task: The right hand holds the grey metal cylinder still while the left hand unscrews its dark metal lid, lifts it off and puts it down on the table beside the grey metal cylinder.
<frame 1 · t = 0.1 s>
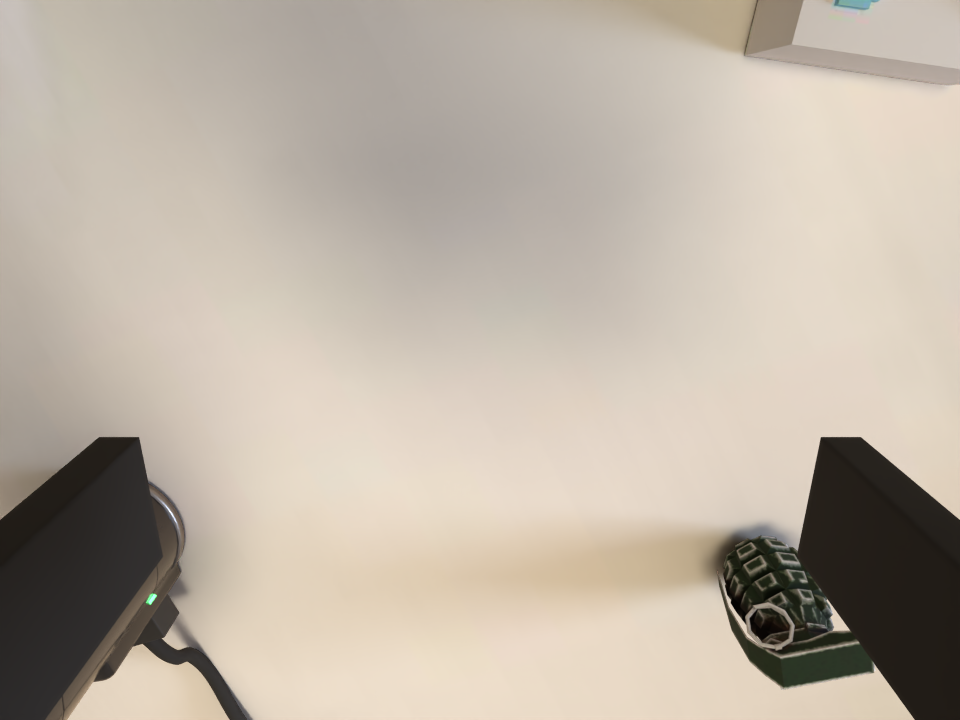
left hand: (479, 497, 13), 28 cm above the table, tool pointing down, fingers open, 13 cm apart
grenade: (748, 555, 47), on the table
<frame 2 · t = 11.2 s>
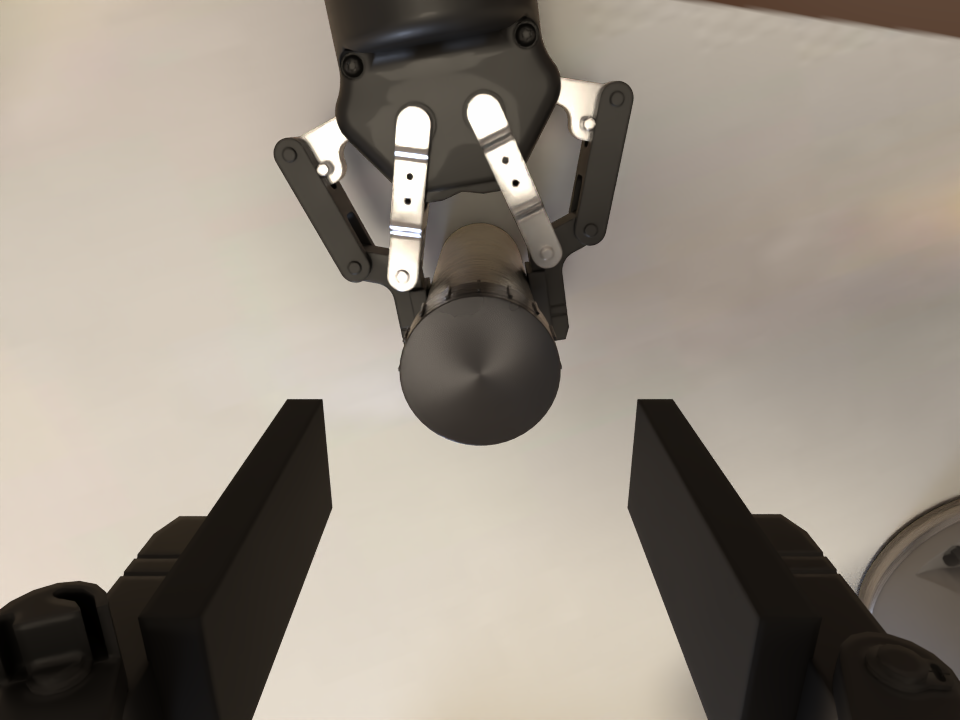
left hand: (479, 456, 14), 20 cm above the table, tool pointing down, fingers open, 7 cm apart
right hand: (490, 356, 28), fingers closed on grey metal cylinder, 4 cm apart
grey metal cylinder: (480, 264, 33), on the table, touching right hand
lid: (480, 369, 19), point 15 cm above the table, screwed on, not yet turned
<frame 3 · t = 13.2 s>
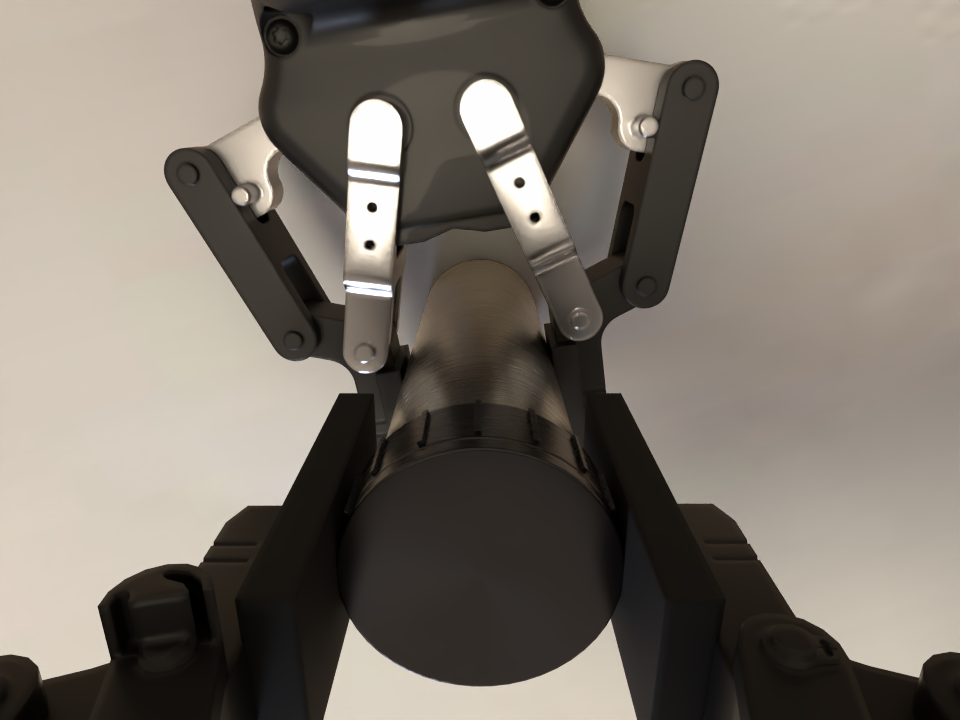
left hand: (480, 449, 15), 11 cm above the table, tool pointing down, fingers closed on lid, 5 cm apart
right hand: (495, 456, 20), fingers closed on grey metal cylinder, 4 cm apart
grey metal cylinder: (480, 313, 25), on the table, touching right hand
lid: (480, 563, 11), point 15 cm above the table, screwed on, not yet turned, touching left hand
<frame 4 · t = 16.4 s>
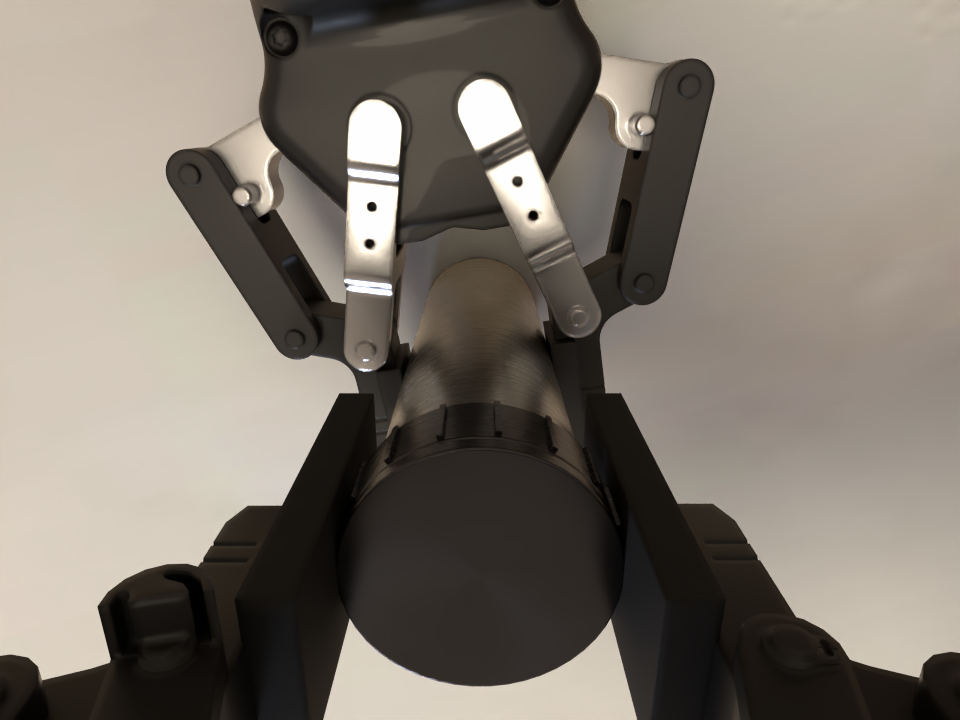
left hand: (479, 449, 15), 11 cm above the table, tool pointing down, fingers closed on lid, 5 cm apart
right hand: (495, 453, 20), fingers closed on grey metal cylinder, 4 cm apart
grey metal cylinder: (480, 311, 25), on the table, touching right hand
lid: (480, 563, 11), point 15 cm above the table, turned 104° so far, risen 0.2 cm, still on its thread, touching left hand
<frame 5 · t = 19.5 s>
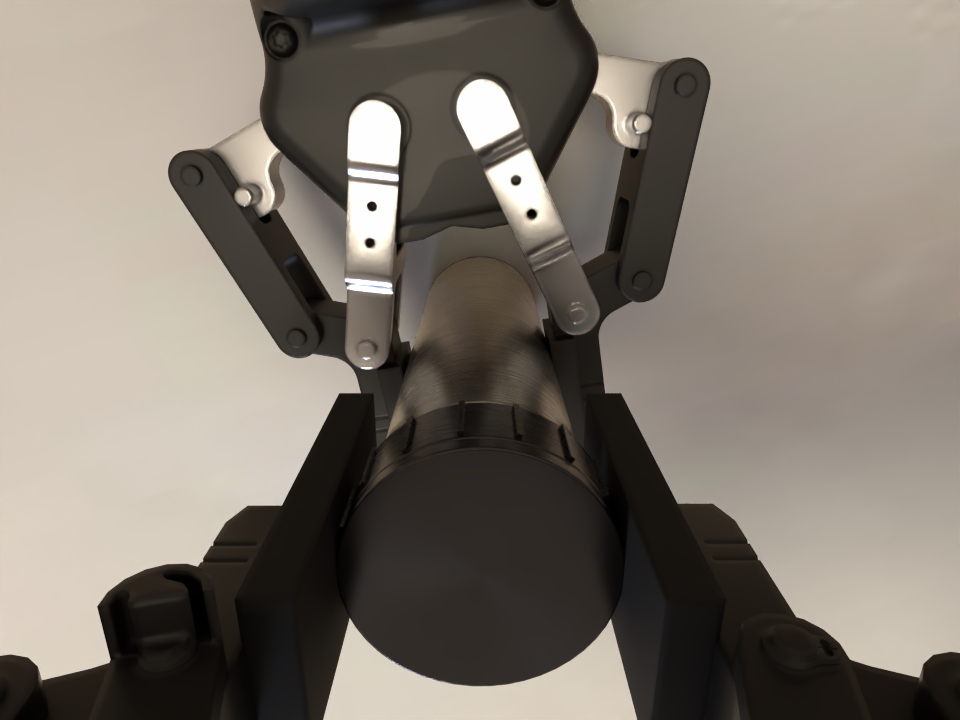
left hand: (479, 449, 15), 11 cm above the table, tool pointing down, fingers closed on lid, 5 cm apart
right hand: (496, 450, 20), fingers closed on grey metal cylinder, 4 cm apart
grey metal cylinder: (480, 310, 25), on the table, touching right hand
lid: (480, 563, 11), point 15 cm above the table, turned 209° so far, risen 0.4 cm, still on its thread, touching left hand
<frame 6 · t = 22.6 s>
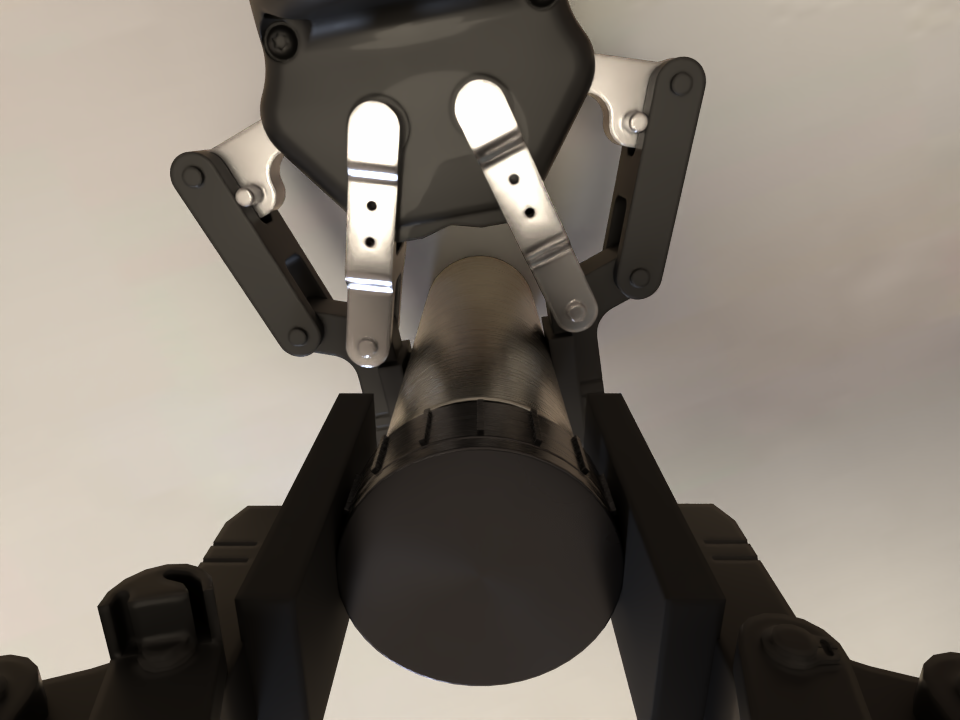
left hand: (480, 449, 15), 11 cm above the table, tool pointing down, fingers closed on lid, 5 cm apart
right hand: (496, 447, 20), fingers closed on grey metal cylinder, 4 cm apart
grey metal cylinder: (480, 308, 25), on the table, touching right hand
lid: (480, 562, 11), point 16 cm above the table, turned 313° so far, risen 0.5 cm, still on its thread, touching left hand
when the left hand's fingers open (0 cm above the table, at t = 29.9 s): lid drops 3 cm, point 1 cm above the table.
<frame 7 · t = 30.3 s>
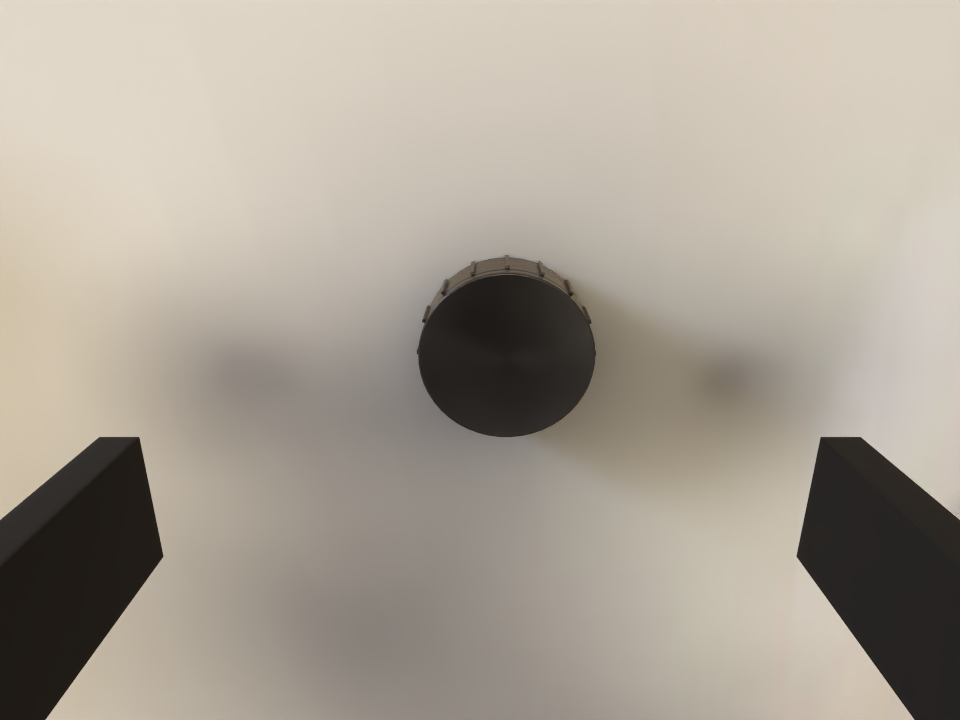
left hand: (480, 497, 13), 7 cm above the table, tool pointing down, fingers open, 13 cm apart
lid: (506, 354, 18), point 1 cm above the table, off its thread
when the right hand's fingers open (6 cm above the table, at t = 30.5 s): grey metal cylinder stays where it is, on the table.
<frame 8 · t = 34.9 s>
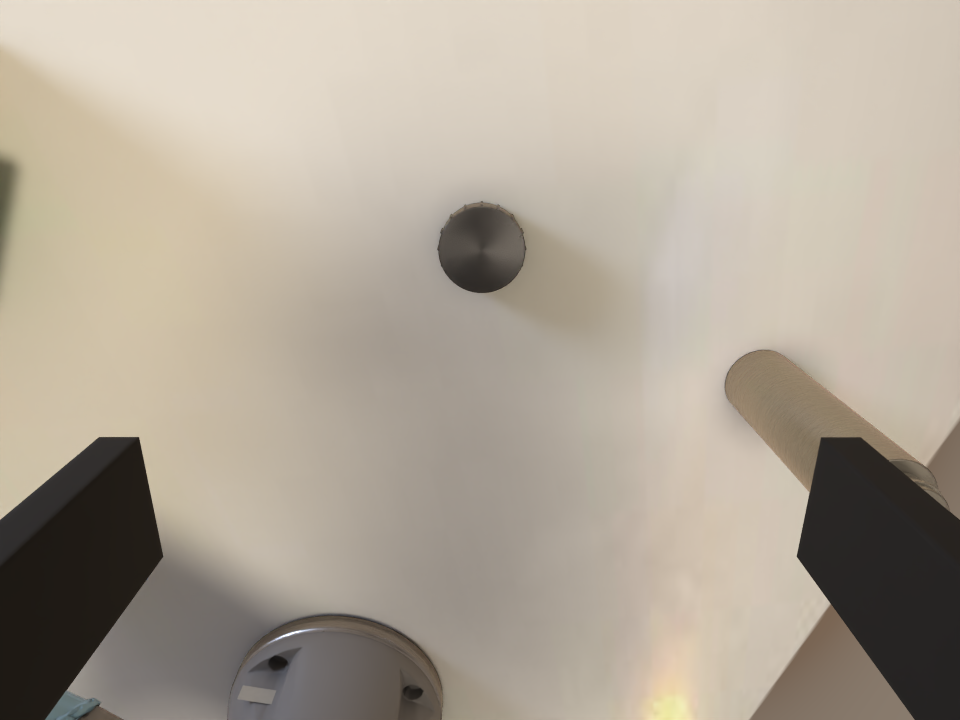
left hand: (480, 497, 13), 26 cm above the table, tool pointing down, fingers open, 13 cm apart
grey metal cylinder: (759, 382, 40), on the table
lid: (481, 249, 36), point 1 cm above the table, off its thread
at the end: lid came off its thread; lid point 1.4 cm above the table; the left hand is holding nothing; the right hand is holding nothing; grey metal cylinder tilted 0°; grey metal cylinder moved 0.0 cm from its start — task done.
